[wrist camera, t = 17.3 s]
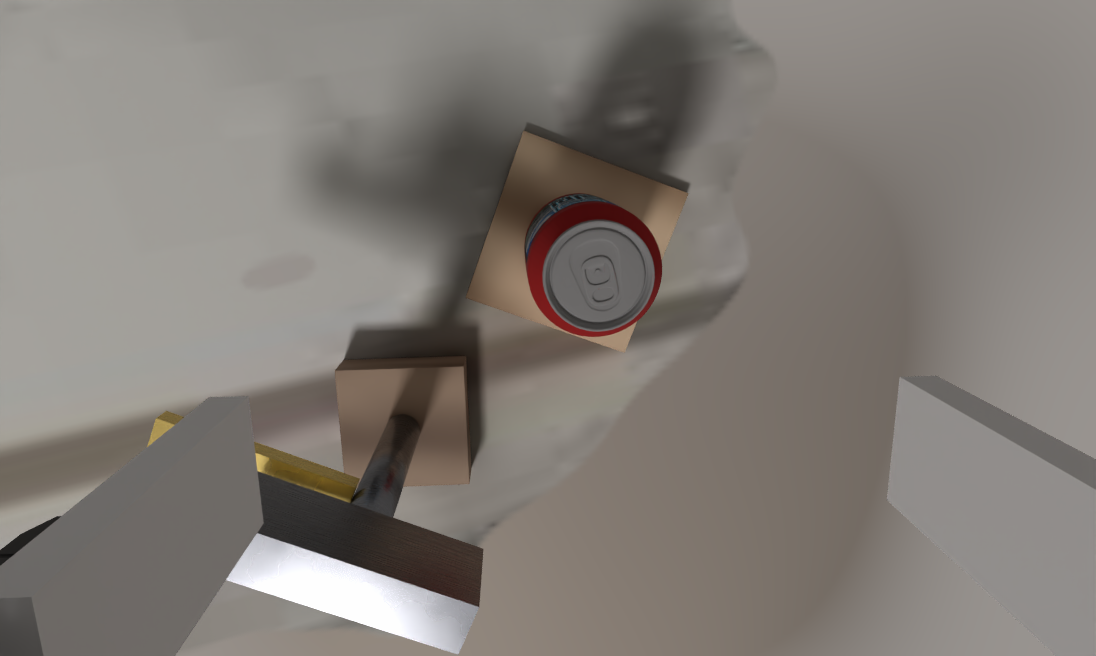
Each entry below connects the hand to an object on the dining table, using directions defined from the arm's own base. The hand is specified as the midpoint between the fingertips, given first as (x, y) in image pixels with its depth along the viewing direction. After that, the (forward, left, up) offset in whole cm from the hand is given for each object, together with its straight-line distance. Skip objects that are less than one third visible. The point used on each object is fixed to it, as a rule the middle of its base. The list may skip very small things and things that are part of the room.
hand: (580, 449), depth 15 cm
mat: (-1, +2, -33) cm, 33 cm away
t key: (+13, -7, -30) cm, 33 cm away
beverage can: (-1, +2, -32) cm, 32 cm away
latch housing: (+13, -4, -33) cm, 36 cm away
